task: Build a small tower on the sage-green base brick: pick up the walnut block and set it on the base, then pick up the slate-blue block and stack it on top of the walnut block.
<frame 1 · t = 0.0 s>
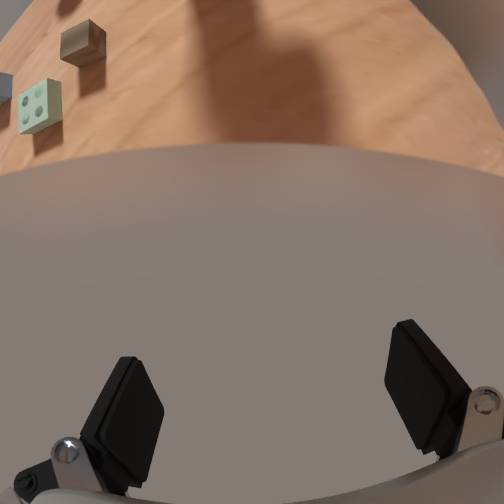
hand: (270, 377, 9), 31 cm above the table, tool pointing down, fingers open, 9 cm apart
base brick: (46, 108, 33), on the table
walnut block: (92, 49, 30), on the table
slate block: (4, 91, 30), on the table
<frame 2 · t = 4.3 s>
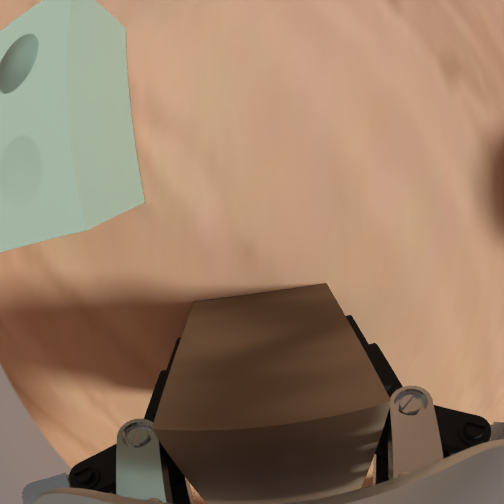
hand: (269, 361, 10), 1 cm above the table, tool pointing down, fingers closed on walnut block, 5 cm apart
base brick: (55, 135, 8), on the table
walnut block: (267, 346, 11), on the table, touching gripper
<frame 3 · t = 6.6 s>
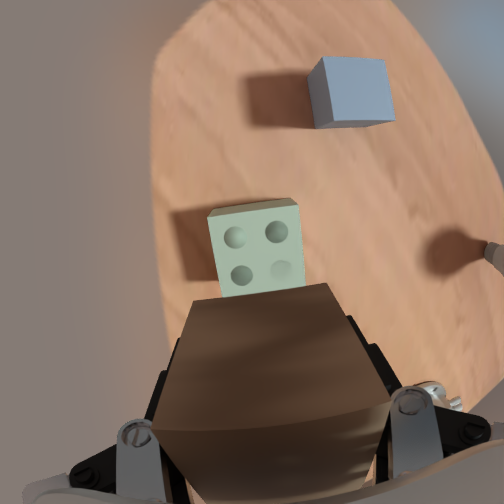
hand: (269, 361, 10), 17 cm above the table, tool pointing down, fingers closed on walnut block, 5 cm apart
base brick: (257, 240, 26), on the table
walnut block: (267, 346, 11), point 16 cm above the table, touching gripper
lightbulb: (485, 249, 27), on the table
slate block: (337, 102, 22), on the table
when the fingers open (6 cm above the table, at t = 8.9 s): walnut block stays where it is, resting on base brick.
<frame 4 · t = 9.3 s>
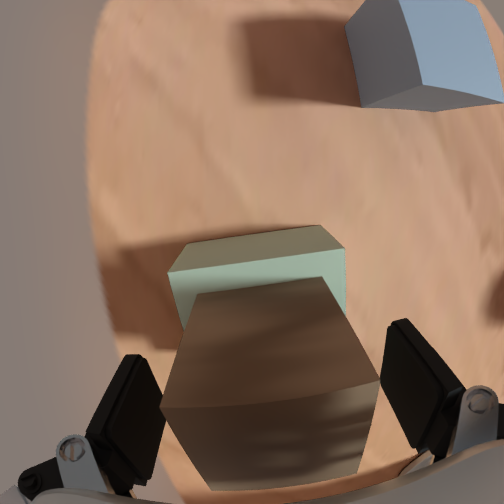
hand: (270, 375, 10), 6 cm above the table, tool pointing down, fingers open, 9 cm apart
base brick: (262, 295, 16), on the table
walnut block: (267, 337, 12), point 4 cm above the table, touching base brick
slate block: (392, 68, 12), on the table
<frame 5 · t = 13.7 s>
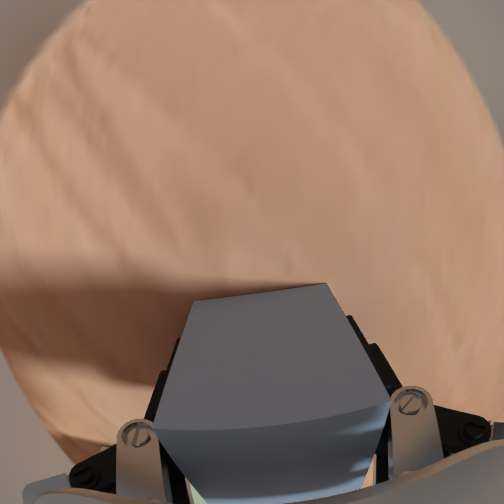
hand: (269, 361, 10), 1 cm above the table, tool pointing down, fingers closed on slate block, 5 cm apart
base brick: (162, 475, 15), on the table
slate block: (267, 346, 11), on the table, touching gripper
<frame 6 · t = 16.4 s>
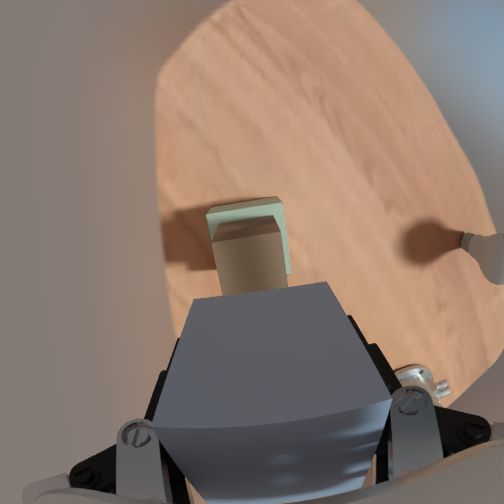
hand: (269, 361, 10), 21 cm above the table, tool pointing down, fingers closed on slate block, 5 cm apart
base brick: (249, 233, 31), on the table
walnut block: (250, 245, 27), point 4 cm above the table, touching base brick
lightbulb: (462, 239, 31), on the table
slate block: (267, 345, 11), point 20 cm above the table, touching gripper
when the fingers open (12 cm above the table, at t = 19.2 s): slate block stays where it is, resting on walnut block.
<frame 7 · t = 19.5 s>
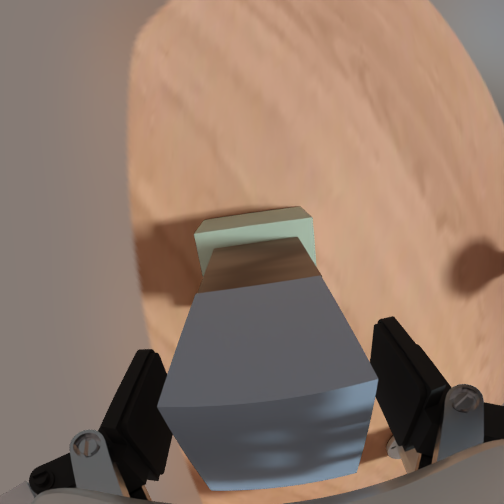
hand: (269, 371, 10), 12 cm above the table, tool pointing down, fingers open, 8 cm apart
base brick: (258, 258, 21), on the table
walnut block: (261, 281, 18), point 4 cm above the table, touching base brick, slate block
slate block: (266, 336, 12), point 10 cm above the table, touching walnut block
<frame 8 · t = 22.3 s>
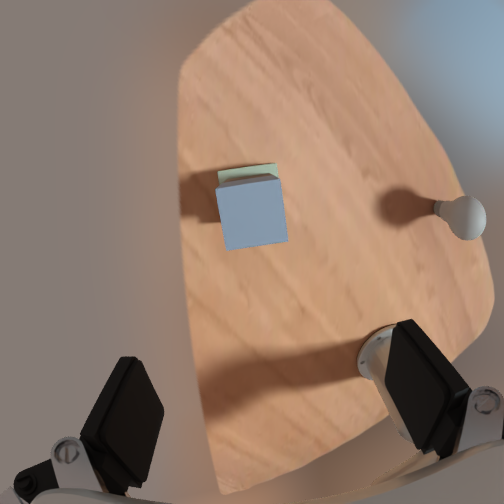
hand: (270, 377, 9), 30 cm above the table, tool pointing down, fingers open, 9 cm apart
base brick: (250, 192, 37), on the table
lightbulb: (435, 207, 38), on the table
slate block: (251, 203, 28), point 10 cm above the table, touching walnut block
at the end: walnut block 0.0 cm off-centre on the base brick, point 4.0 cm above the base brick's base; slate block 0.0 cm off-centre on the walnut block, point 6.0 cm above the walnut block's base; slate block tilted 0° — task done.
